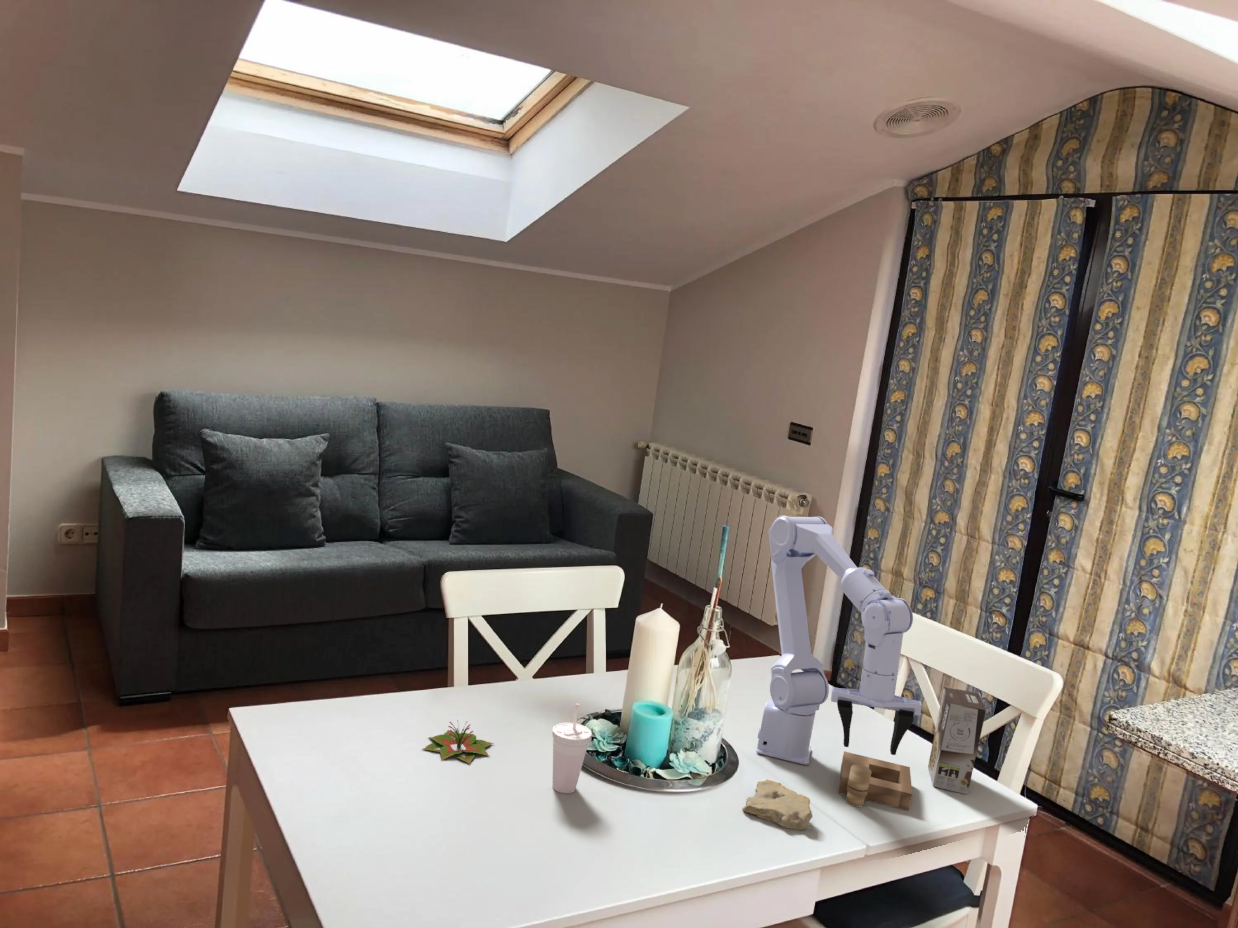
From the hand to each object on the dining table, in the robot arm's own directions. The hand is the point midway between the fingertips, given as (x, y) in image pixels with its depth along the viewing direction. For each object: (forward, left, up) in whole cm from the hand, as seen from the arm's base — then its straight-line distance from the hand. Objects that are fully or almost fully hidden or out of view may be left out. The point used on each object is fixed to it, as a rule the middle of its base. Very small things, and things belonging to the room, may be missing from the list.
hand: (869, 748), depth 164 cm
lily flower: (-66, -17, -11) cm, 69 cm away
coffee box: (+16, +18, -10) cm, 26 cm away
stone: (-14, -11, -10) cm, 21 cm away
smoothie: (-46, -21, -10) cm, 52 cm away
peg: (-1, 0, -10) cm, 10 cm away
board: (+2, +7, -10) cm, 12 cm away
